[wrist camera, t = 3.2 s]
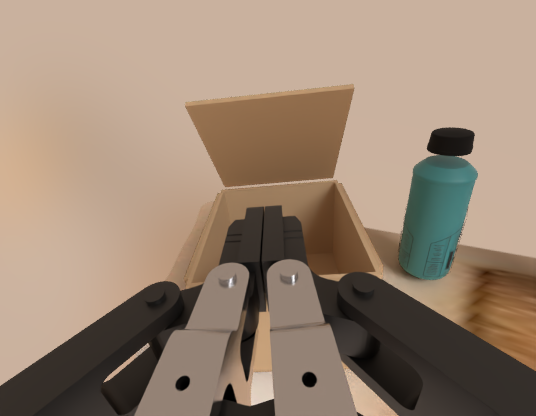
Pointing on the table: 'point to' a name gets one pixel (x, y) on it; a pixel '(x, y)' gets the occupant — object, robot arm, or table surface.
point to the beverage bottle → (437, 204)
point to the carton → (314, 233)
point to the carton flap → (274, 134)
